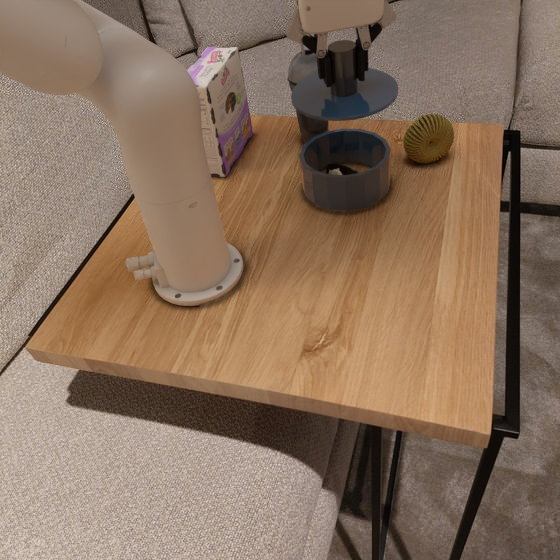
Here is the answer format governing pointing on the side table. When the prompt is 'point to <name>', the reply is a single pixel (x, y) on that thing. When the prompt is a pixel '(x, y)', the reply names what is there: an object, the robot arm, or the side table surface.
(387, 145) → the tin
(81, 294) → the side table surface
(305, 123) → the beverage cup
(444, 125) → the sculpture
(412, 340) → the side table surface
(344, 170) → the watch
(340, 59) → the tin lid
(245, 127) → the candy box
